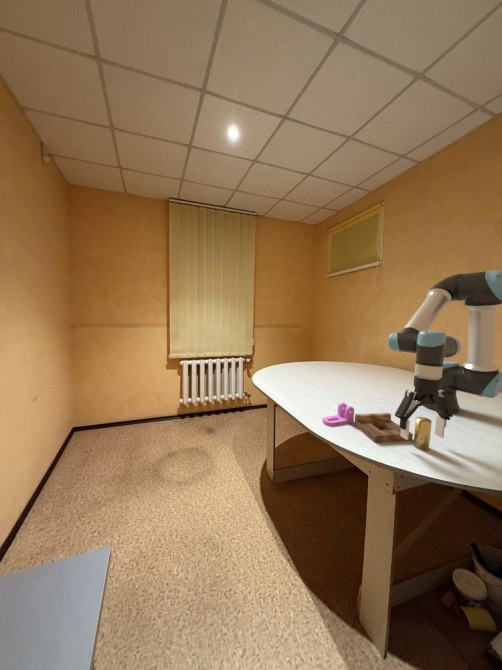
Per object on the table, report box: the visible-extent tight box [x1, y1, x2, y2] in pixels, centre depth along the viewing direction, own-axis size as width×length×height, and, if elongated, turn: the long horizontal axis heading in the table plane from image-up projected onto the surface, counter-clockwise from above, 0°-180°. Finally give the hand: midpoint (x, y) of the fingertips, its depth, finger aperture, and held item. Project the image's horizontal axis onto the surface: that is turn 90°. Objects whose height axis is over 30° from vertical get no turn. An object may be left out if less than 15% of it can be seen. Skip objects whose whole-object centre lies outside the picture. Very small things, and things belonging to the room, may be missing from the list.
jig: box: [353, 412, 414, 443], centre depth 95 cm, size 15×13×5 cm
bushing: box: [413, 416, 433, 452], centre depth 85 cm, size 4×4×10 cm
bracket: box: [322, 402, 355, 427], centre depth 104 cm, size 13×6×7 cm, turn 111°
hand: (421, 437), depth 85 cm, fingers open, 13 cm apart
